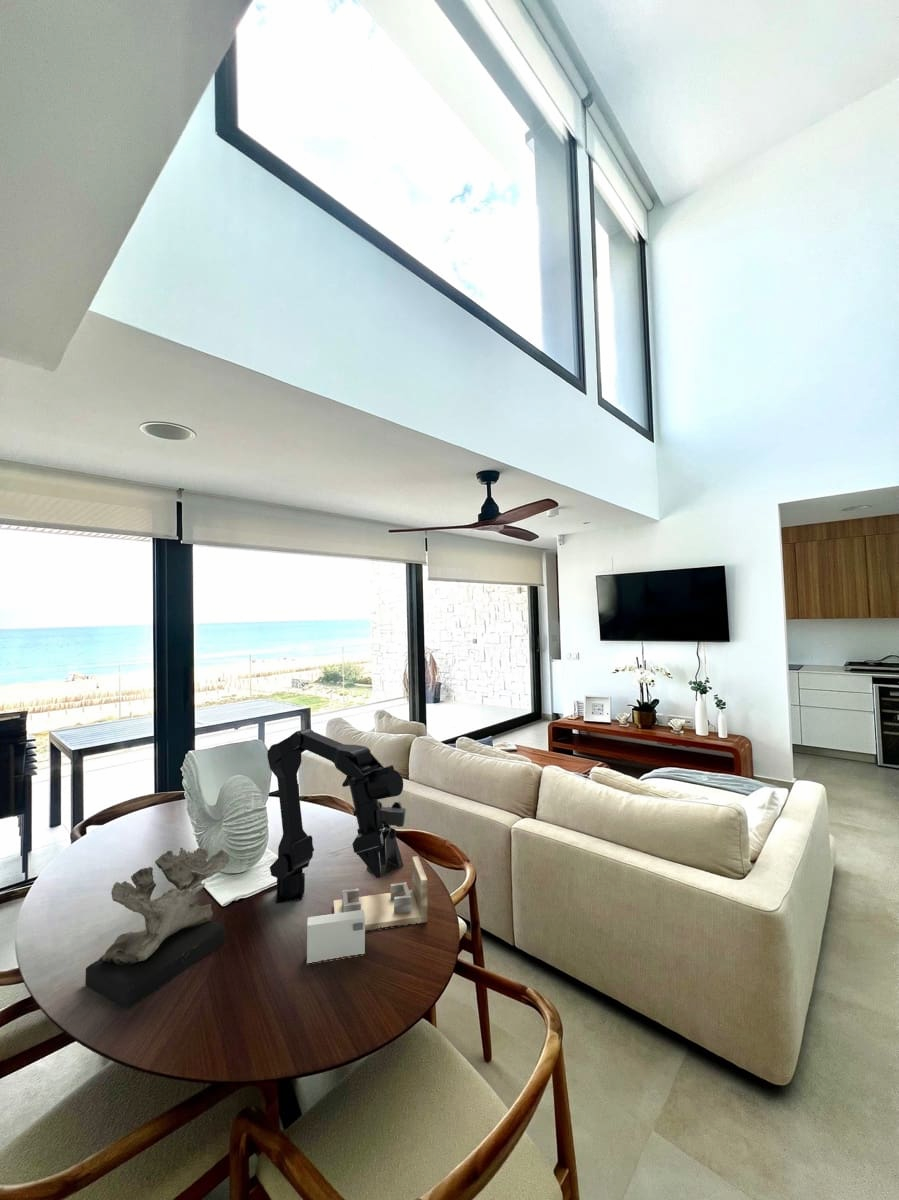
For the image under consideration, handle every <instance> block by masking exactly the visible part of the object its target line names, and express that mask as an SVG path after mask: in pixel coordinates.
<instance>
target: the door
mask: <svg viewBox="0 0 899 1200" xmlns="http://www.w3.org/2000/svg"><path fill="white" fill-rule="evenodd" d="M306 930H307V933H306V935H307V937H306V964H307V963H312V962H318V961H321V960H327V959H333V958H339V957H343V956H350V955H358V954H366V952H365V951H366V949H365V947H366V945H365V943H366V940H365V939H366V931H365V914H364V910H357V911H350V912H343V913H336V914H334V913H328V914H323V915H317V916H315V915H314V916H308V917H307V929H306ZM318 963H319V962H318ZM312 964H313V963H312Z"/></svg>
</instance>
